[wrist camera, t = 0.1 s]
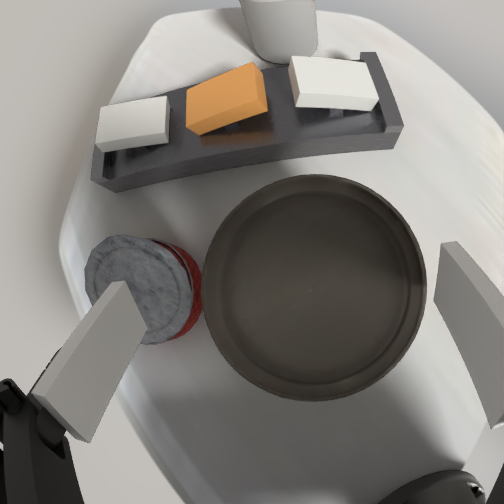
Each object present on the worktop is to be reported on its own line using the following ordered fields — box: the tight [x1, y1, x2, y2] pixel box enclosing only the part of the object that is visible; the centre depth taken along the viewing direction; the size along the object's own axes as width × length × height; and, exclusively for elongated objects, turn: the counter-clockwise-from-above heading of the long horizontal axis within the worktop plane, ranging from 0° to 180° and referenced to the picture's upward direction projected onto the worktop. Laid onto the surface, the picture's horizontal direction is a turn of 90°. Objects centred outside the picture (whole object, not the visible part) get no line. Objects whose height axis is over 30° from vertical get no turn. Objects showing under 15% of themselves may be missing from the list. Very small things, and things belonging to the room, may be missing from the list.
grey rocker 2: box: [95, 96, 170, 153], centre depth 27 cm, size 7×4×2 cm, turn 95°
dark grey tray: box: [91, 52, 404, 193], centre depth 28 cm, size 30×9×5 cm, turn 95°
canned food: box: [84, 235, 203, 345], centre depth 27 cm, size 11×10×10 cm
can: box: [239, 0, 318, 64], centre depth 25 cm, size 8×8×12 cm
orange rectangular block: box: [186, 62, 268, 135], centre depth 25 cm, size 7×4×2 cm, turn 95°
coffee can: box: [201, 174, 427, 402], centre depth 20 cm, size 10×10×14 cm
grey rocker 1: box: [288, 56, 379, 111], centre depth 23 cm, size 7×4×2 cm, turn 95°
